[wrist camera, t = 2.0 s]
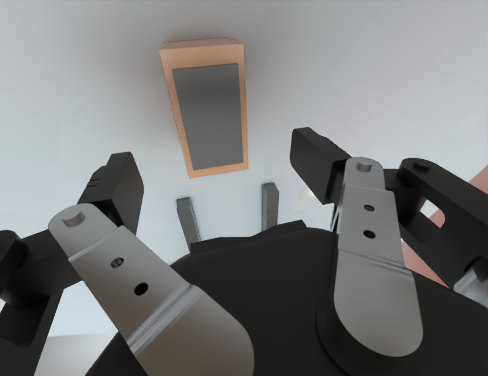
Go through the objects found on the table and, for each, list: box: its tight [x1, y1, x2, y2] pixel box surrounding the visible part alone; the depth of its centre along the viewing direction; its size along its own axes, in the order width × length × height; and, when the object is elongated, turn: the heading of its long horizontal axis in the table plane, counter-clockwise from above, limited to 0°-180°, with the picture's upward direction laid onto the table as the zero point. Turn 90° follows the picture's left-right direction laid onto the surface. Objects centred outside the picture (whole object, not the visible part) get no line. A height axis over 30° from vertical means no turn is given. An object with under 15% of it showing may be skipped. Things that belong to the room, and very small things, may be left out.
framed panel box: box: [159, 38, 248, 179], centre depth 18 cm, size 5×9×6 cm, turn 2°
